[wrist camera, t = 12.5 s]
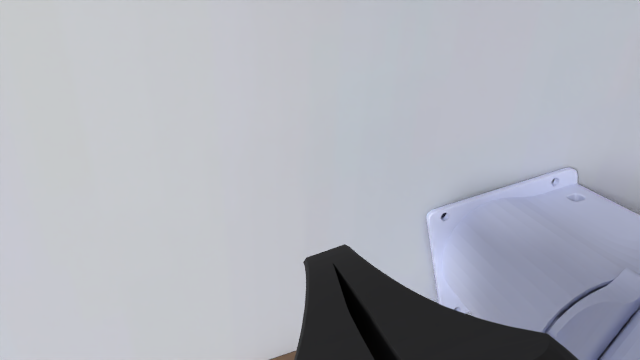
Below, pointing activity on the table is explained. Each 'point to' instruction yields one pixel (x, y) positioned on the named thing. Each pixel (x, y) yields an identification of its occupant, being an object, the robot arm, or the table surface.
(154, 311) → the table surface
